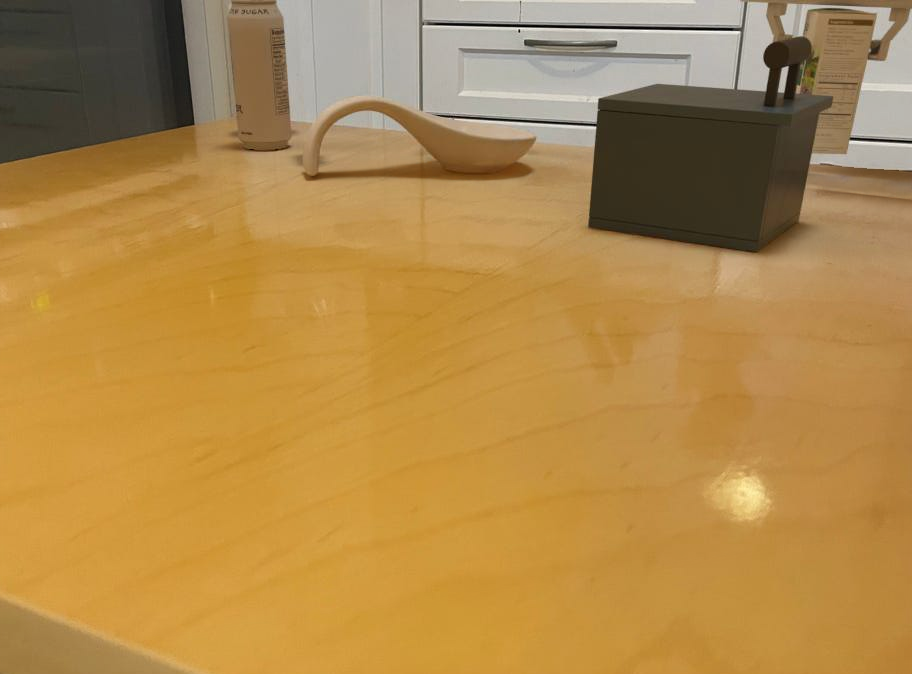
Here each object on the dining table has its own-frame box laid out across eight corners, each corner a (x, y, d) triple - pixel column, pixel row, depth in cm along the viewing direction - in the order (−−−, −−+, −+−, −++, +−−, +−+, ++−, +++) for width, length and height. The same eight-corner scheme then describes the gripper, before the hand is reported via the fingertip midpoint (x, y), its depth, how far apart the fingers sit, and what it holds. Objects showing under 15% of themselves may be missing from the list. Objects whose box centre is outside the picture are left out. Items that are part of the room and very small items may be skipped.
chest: (799, 220, 77) (820, 106, 73) (756, 252, 69) (778, 125, 65) (643, 200, 84) (655, 94, 80) (587, 227, 76) (597, 110, 71)
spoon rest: (513, 156, 103) (516, 85, 100) (550, 176, 93) (555, 98, 90) (298, 165, 98) (293, 91, 95) (313, 188, 88) (308, 106, 85)
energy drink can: (247, 142, 111) (234, -2, 104) (297, 142, 111) (287, -2, 103) (233, 150, 106) (218, 0, 98) (285, 151, 105) (274, 0, 98)
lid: (831, 107, 73) (845, 35, 70) (790, 126, 64) (804, 45, 62) (655, 93, 80) (662, 28, 77) (597, 109, 71) (603, 36, 69)
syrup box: (777, 157, 102) (803, 7, 95) (834, 158, 102) (864, 8, 94) (787, 167, 97) (815, 10, 90) (846, 168, 97) (880, 10, 90)
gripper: (740, -106, 90) (716, 52, 97) (975, -109, 81) (929, 67, 88) (759, -103, 95) (735, 48, 102) (984, -106, 85) (940, 61, 92)
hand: (827, 57), depth 95 cm, fingers open, 8 cm apart
